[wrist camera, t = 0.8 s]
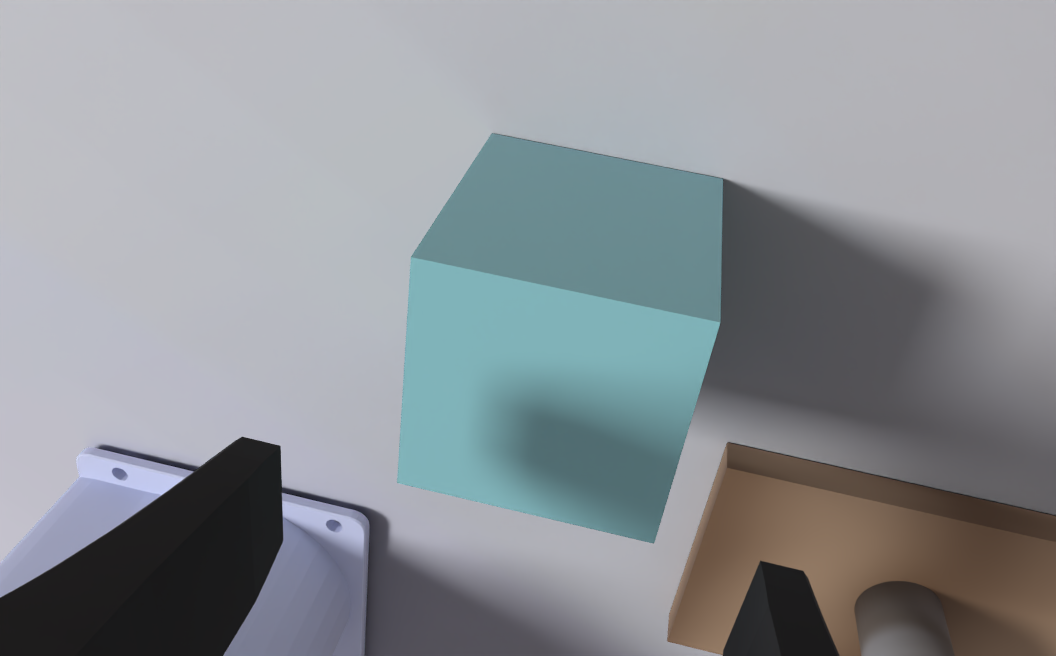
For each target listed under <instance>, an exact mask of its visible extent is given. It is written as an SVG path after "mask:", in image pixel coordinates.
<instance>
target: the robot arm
mask: <svg viewBox="0 0 1056 656" xmlns="http://www.w3.org/2000/svg"><path fill="white" fill-rule="evenodd" d="M76 464H77V468H78V473H79V478H78V479H77V480H76V481H75V482H74V483H73V484H72V485H71V486H70V487H69V488H68V490H67V491H66V492H65V493H64V494H63V495H62V496H61V497H60V498H59V499H58V500H57V502H56V503H55V504H54V505H53V506H52V507H51V508H50V509H49V510H48V511H47V512H46V513H45V515H44V516H43V517H42V518H41V519H40V520H39V521H38V522H37V523H36V524H35V525H34V527H33V528H32V529H31V530H30V531H29V532H28V533H27V534H26V535H25V536H24V537H23V539H22V540H21V541H20V542H19V543H18V544H17V545H16V546H15V547H14V548H13V549H12V550H11V552H10V553H9V554H8V555H7V556H6V557H5V558H4V559H3V560H2V561H1V562H0V656H365V632H366V605H367V579H368V553H369V527H370V525H369V521H368V519H367V518H366V517H365V516H364V515H363V514H362V513H360V512H358V511H356V510H352V509H348V508H343V507H339V506H335V505H331V504H327V503H323V502H318V501H314V500H310V499H306V498H302V497H298V496H294V495H289V494H285V493H282V480H281V449H280V446H279V445H274V444H270V443H266V442H262V441H258V440H253V439H249V438H245V437H241V438H239V439H238V440H236V441H234V442H233V443H232V444H230V445H229V446H228V447H226V448H225V449H224V450H222V451H221V452H219V453H218V454H217V455H215V456H214V457H213V458H211V459H210V460H209V461H207V462H206V463H205V464H203V465H202V466H201V467H199V468H198V469H197V470H195V471H189V470H185V469H181V468H177V467H173V466H169V465H164V464H160V463H156V462H152V461H148V460H144V459H140V458H135V457H131V456H127V455H123V454H119V453H115V452H110V451H106V450H102V449H98V448H91V447H88V448H85V449H84V450H83V451H82V452H81V453H80V454H79V455H78V457H77V458H76ZM334 520H336V521H338V522H339V523H338V522H336V521H334ZM723 656H840V655H839V653H838V651H837V648H836V646H835V644H834V641H833V639H832V637H831V634H830V632H829V630H828V627H827V625H826V622H825V620H824V617H823V615H822V613H821V610H820V608H819V605H818V602H817V600H816V597H815V595H814V592H813V590H812V587H811V584H810V582H809V579H808V577H807V576H806V574H805V573H804V571H802V570H798V569H793V568H789V567H785V566H781V565H777V564H773V563H768V562H764V561H760V562H759V565H758V567H757V570H756V572H755V575H754V577H753V579H752V582H751V584H750V587H749V589H748V591H747V594H746V596H745V599H744V601H743V604H742V606H741V608H740V611H739V613H738V616H737V618H736V620H735V623H734V625H733V628H732V630H731V633H730V635H729V637H728V640H727V642H726V645H725V647H724V649H723Z"/></svg>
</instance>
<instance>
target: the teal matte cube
mask: <svg viewBox="0 0 1056 656" xmlns="http://www.w3.org/2000/svg"><path fill="white" fill-rule="evenodd" d="M722 207H723V179H721V178H716V177H711V176H706V175H701V174H696V173H691V172H686V171H681V170H676V169H671V168H666V167H660V166H655V165H650V164H645V163H640V162H635V161H630V160H625V159H620V158H615V157H610V156H605V155H599V154H594V153H589V152H584V151H579V150H574V149H569V148H564V147H559V146H554V145H549V144H544V143H539V142H533V141H528V140H523V139H518V138H513V137H508V136H503V135H498V134H493V133H492V134H491V135H490V137H489V139H488V140H487V142H486V143H485V145H484V146H483V148H482V149H481V151H480V152H479V154H478V155H477V157H476V158H475V160H474V161H473V163H472V165H471V166H470V168H469V169H468V171H467V172H466V174H465V175H464V177H463V178H462V180H461V181H460V183H459V184H458V186H457V187H456V189H455V191H454V192H453V194H452V195H451V197H450V198H449V200H448V201H447V203H446V204H445V206H444V207H443V209H442V210H441V212H440V213H439V215H438V217H437V218H436V220H435V221H434V223H433V224H432V226H431V227H430V229H429V230H428V232H427V233H426V235H425V236H424V238H423V239H422V241H421V243H420V244H419V246H418V247H417V249H416V250H415V252H414V253H413V255H412V256H411V265H410V282H409V298H408V314H407V331H406V347H405V363H404V380H403V396H402V413H401V429H400V445H399V462H398V478H397V483H400V484H404V485H408V486H413V487H417V488H421V489H425V490H429V491H434V492H438V493H442V494H446V495H451V496H455V497H459V498H463V499H468V500H472V501H476V502H480V503H484V504H489V505H493V506H497V507H501V508H506V509H510V510H514V511H518V512H523V513H527V514H531V515H535V516H540V517H544V518H548V519H552V520H556V521H561V522H565V523H569V524H573V525H578V526H582V527H586V528H590V529H595V530H599V531H603V532H607V533H611V534H616V535H620V536H624V537H628V538H633V539H637V540H641V541H645V542H650V543H654V542H655V538H656V535H657V532H658V528H659V525H660V522H661V518H662V515H663V512H664V509H665V505H666V502H667V499H668V495H669V492H670V489H671V485H672V482H673V479H674V475H675V472H676V469H677V465H678V462H679V459H680V455H681V452H682V449H683V445H684V442H685V439H686V435H687V432H688V429H689V426H690V422H691V419H692V416H693V412H694V409H695V406H696V402H697V399H698V396H699V392H700V389H701V386H702V382H703V379H704V376H705V372H706V369H707V366H708V362H709V359H710V356H711V352H712V349H713V346H714V343H715V339H716V336H717V333H718V329H719V326H720V322H721V265H722Z"/></svg>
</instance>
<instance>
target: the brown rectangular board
mask: <svg viewBox="0 0 1056 656" xmlns="http://www.w3.org/2000/svg"><path fill="white" fill-rule="evenodd" d="M760 561H764V562H768V563H773V564H777V565H781V566H785V567H789V568H793V569H798V570H802V571H804V573H805V574H806V576H807V577H808V579H809V582H810V584H811V587H812V590H813V592H814V595H815V597H816V600H817V602H818V605H819V608H820V610H821V613H822V615H823V617H824V620H825V622H826V625H827V627H828V630H829V632H830V634H831V637H832V639H833V641H834V644H835V646H836V648H837V651H838V653H839V655H840V656H1056V516H1053V515H1049V514H1044V513H1040V512H1035V511H1031V510H1026V509H1022V508H1018V507H1013V506H1009V505H1004V504H1000V503H995V502H991V501H986V500H982V499H977V498H973V497H968V496H964V495H959V494H955V493H951V492H946V491H942V490H937V489H933V488H928V487H924V486H919V485H915V484H910V483H906V482H901V481H897V480H893V479H888V478H884V477H879V476H875V475H870V474H866V473H861V472H857V471H852V470H848V469H843V468H839V467H834V466H830V465H826V464H821V463H817V462H812V461H808V460H803V459H799V458H794V457H790V456H785V455H781V454H776V453H772V452H768V451H763V450H759V449H754V448H750V447H745V446H741V445H736V444H732V443H727V444H726V447H725V450H724V453H723V456H722V459H721V462H720V465H719V468H718V471H717V474H716V477H715V480H714V483H713V486H712V489H711V492H710V495H709V498H708V501H707V504H706V507H705V510H704V513H703V516H702V519H701V522H700V525H699V527H698V530H697V533H696V536H695V539H694V542H693V545H692V548H691V551H690V554H689V557H688V560H687V563H686V566H685V569H684V572H683V575H682V578H681V581H680V584H679V587H678V590H677V593H676V596H675V599H674V602H673V605H672V608H671V611H670V613H669V624H668V638H667V641H668V642H672V643H676V644H680V645H684V646H688V647H692V648H696V649H700V650H704V651H708V652H712V653H716V654H721V655H723V649H724V647H725V645H726V642H727V640H728V637H729V635H730V633H731V630H732V628H733V625H734V623H735V620H736V618H737V616H738V613H739V611H740V608H741V606H742V604H743V601H744V599H745V596H746V594H747V591H748V589H749V587H750V584H751V582H752V579H753V577H754V575H755V572H756V570H757V567H758V565H759V562H760Z"/></svg>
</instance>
